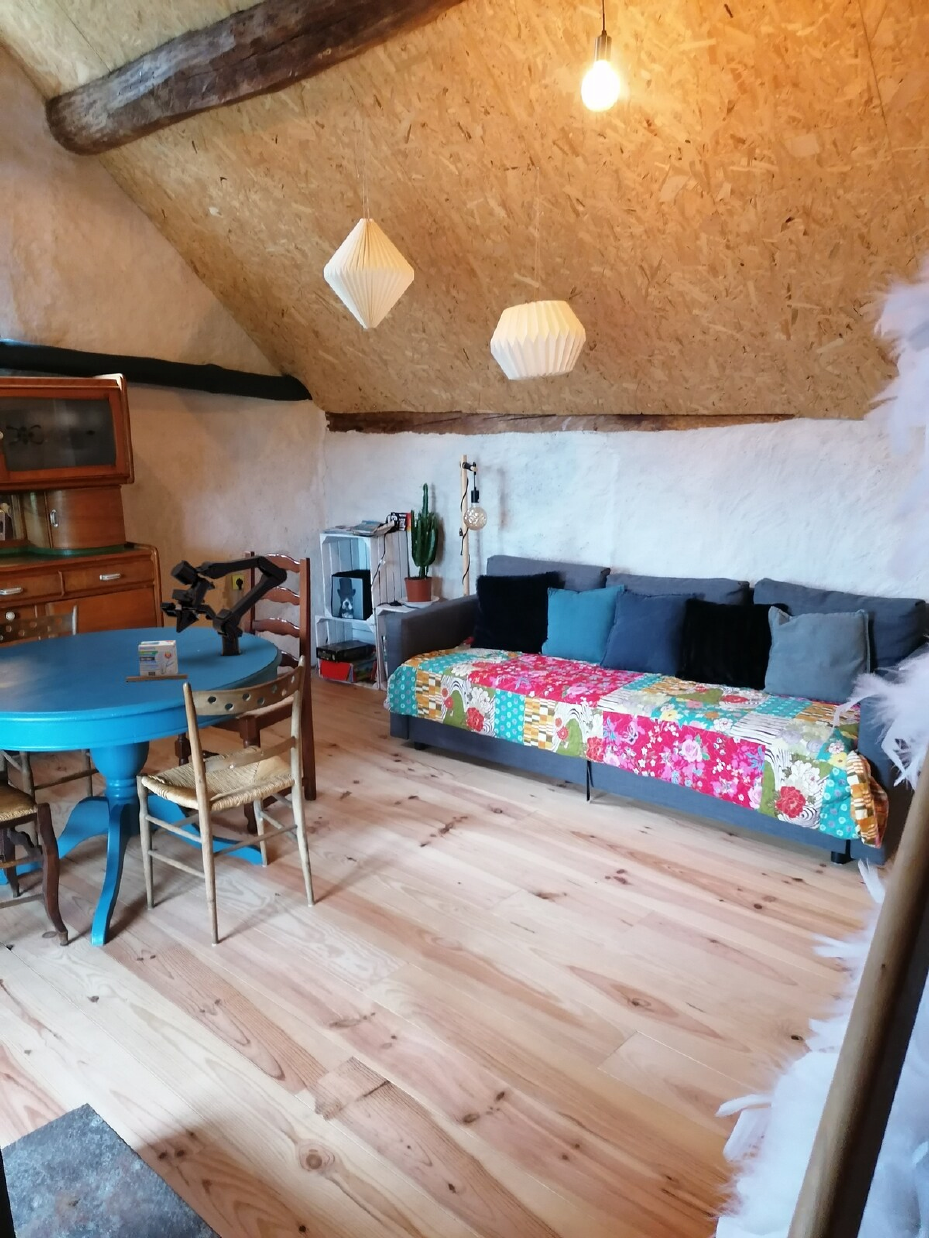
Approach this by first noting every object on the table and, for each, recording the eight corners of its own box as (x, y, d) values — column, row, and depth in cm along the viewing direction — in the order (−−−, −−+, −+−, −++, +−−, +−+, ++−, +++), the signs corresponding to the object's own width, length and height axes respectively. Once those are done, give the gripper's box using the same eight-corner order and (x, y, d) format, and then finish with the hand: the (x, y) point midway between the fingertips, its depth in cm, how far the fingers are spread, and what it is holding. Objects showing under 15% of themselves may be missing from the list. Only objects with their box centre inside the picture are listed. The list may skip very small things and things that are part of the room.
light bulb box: (140, 679, 259) (137, 646, 257) (143, 673, 266) (141, 641, 264) (175, 677, 261) (173, 644, 259) (178, 672, 268) (176, 639, 266)
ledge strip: (127, 680, 258) (127, 676, 258) (187, 677, 262) (187, 673, 261) (126, 681, 257) (126, 678, 256) (186, 678, 260) (186, 675, 260)
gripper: (160, 577, 275) (140, 616, 267) (208, 580, 269) (189, 620, 261) (178, 597, 284) (159, 635, 276) (224, 600, 278) (206, 639, 270)
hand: (177, 632), depth 271 cm, fingers closed
